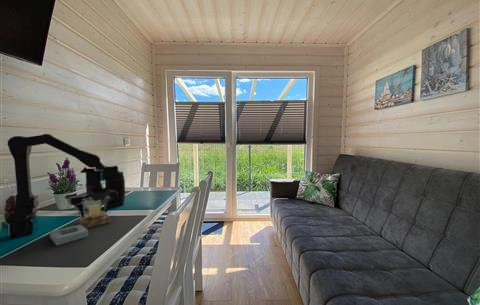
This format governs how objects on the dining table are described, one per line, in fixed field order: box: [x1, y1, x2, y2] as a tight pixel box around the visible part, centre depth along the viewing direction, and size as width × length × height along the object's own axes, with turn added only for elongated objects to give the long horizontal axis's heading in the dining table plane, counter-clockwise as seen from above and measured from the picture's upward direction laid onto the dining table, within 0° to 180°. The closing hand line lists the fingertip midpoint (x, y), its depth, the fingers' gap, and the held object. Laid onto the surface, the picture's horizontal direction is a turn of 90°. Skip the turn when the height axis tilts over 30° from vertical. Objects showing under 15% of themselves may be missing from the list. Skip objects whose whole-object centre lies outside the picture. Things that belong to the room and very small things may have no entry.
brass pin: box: [88, 204, 101, 220], centre depth 104 cm, size 4×4×8 cm
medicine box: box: [84, 193, 102, 212], centre depth 122 cm, size 8×4×9 cm, turn 62°
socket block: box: [49, 223, 89, 246], centre depth 88 cm, size 10×10×2 cm
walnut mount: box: [78, 211, 112, 229], centre depth 104 cm, size 10×10×2 cm
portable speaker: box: [106, 170, 126, 208], centre depth 131 cm, size 9×9×20 cm
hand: (94, 215), depth 104 cm, fingers open, 9 cm apart
